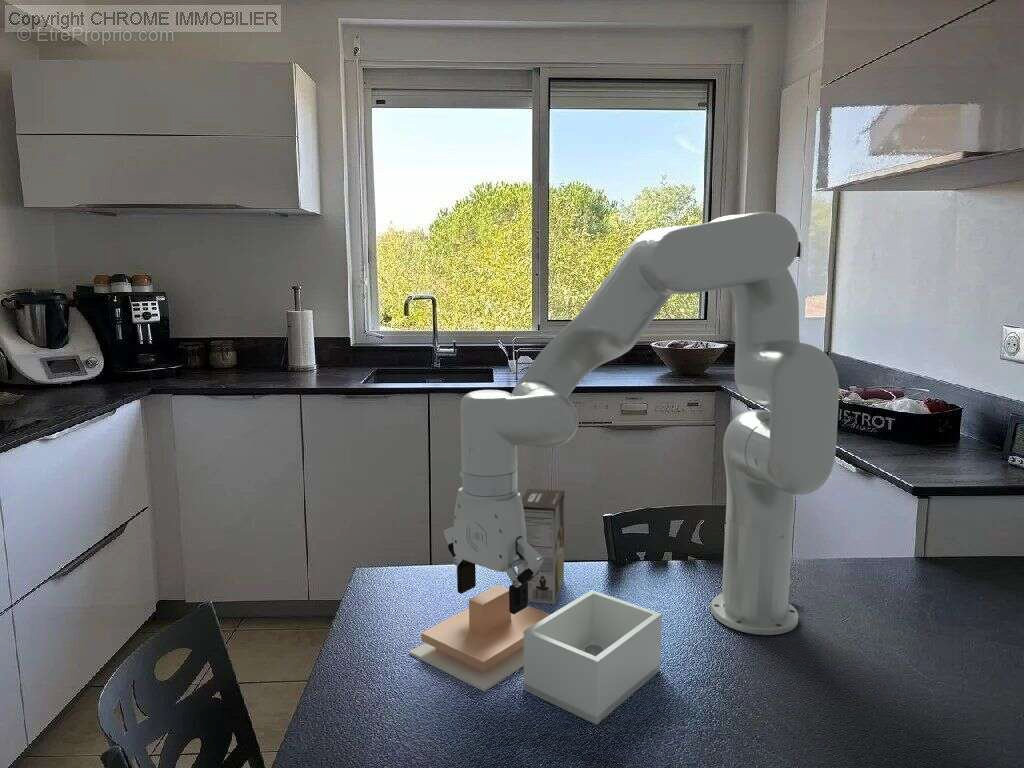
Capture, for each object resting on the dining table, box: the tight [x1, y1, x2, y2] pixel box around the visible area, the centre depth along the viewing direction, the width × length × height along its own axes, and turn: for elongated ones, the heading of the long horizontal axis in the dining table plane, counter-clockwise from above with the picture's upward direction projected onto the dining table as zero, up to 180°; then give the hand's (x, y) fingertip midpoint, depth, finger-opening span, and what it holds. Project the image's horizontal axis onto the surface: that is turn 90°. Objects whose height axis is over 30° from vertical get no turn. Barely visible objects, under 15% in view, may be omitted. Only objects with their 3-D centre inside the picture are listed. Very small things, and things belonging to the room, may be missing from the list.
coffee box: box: [517, 488, 565, 605], centre depth 119 cm, size 9×6×16 cm
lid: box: [420, 584, 552, 673], centre depth 103 cm, size 16×12×7 cm
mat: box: [408, 642, 524, 693], centre depth 103 cm, size 18×14×1 cm
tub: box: [523, 589, 663, 726], centre depth 94 cm, size 15×11×8 cm
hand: (491, 599), depth 102 cm, fingers open, 9 cm apart
